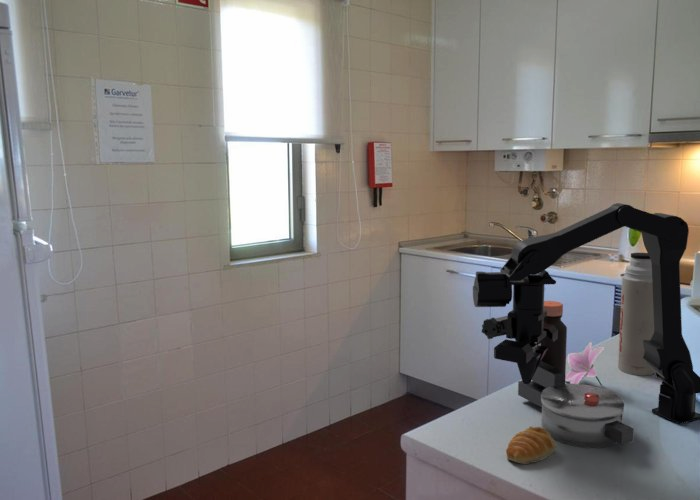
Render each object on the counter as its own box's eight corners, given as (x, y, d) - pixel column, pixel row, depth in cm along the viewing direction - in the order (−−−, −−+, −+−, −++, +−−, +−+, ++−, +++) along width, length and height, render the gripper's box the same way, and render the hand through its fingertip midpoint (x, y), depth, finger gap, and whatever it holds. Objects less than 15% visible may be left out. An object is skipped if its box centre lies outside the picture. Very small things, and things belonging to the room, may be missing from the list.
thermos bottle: (614, 371, 140) (619, 254, 135) (622, 361, 146) (627, 249, 142) (652, 378, 135) (658, 257, 131) (657, 367, 141) (664, 252, 137)
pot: (548, 393, 128) (548, 371, 127) (655, 445, 104) (656, 418, 104) (496, 405, 123) (496, 382, 122) (596, 463, 99) (597, 435, 98)
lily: (570, 376, 140) (552, 344, 138) (620, 364, 134) (603, 331, 132) (568, 410, 131) (549, 376, 128) (622, 399, 125) (604, 363, 122)
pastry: (531, 472, 97) (531, 450, 97) (495, 458, 102) (495, 437, 101) (558, 451, 104) (559, 431, 103) (524, 439, 108) (524, 420, 108)
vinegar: (542, 384, 133) (544, 298, 130) (570, 393, 128) (573, 303, 125) (525, 393, 129) (527, 303, 125) (554, 402, 124) (557, 309, 120)
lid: (555, 369, 127) (555, 353, 127) (642, 411, 106) (643, 391, 105) (498, 380, 123) (498, 362, 122) (577, 426, 101) (578, 405, 100)
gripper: (507, 291, 126) (505, 362, 128) (468, 311, 111) (467, 390, 113) (560, 298, 119) (557, 372, 121) (526, 319, 104) (524, 403, 107)
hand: (526, 383), depth 116 cm, fingers closed
